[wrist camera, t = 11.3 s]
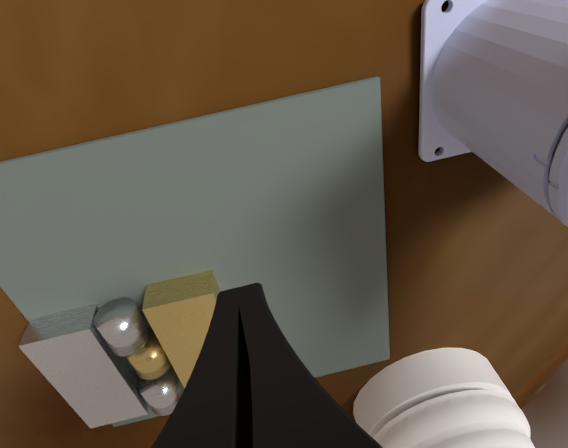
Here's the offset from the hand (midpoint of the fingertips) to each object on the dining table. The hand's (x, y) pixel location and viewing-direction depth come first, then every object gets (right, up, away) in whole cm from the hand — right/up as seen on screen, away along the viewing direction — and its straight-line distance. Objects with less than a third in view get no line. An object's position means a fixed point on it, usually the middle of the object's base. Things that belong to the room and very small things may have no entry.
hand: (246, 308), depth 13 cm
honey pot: (+14, -12, +24) cm, 30 cm away
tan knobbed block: (-5, -4, +14) cm, 15 cm away
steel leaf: (-10, -6, +14) cm, 18 cm away
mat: (-3, -1, +13) cm, 13 cm away
